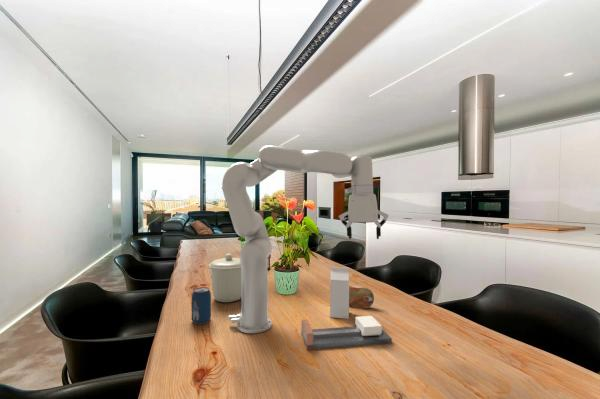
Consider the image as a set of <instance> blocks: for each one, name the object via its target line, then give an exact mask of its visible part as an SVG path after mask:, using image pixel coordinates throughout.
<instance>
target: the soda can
mask: <svg viewBox="0 0 600 399" xmlns="http://www.w3.org/2000/svg"><path fill="white" fill-rule="evenodd" d="M211 318H212V292H211V291H210V288H209V287H206V286H205V287H204V286H201V287H197V288H194V289H193V292H192V293H191V320H192V323H193V324H194V323H195V325H204V324H207V323H208V322H209V321H210V320H211Z"/></svg>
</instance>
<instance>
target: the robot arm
mask: <svg viewBox="0 0 600 399" xmlns="http://www.w3.org/2000/svg"><path fill="white" fill-rule="evenodd" d="M257 156H258V158H257V159H254V161H252V162H250V163H248V162H245V161H238V162H236V163H234V164H231V166H230V167H228V168H227V170H226V172H225V173H224V175H223V178H222V182H221V183H222V184H221V185H222V186H221V188H222V192H223V196H224V199H225V203H226V206H227V210H228V212H229V217H230V219H231V223H232V227H233V229H234V232H235V233H236V234H237V235H238V236H239V237H241V238H244V240H245V243H244V244H243V245H242V248H241V249H240V252H239V258H240V263H241V284H242V287H241V298H240V299H241V304H240V305H241V308H240V309H241V310H240V313H238V314H236V315H235V314H228V321H229V322H231V324H233V323H236V329H237V330H238V331H239V332H242V333H245V334H261V333H264V332H265V331H268V330H269V329H271V327H272V326H273V324H272V323H273V322H272V320H271V318H269V317H268V313H269V312H268V308H269V307H268V306H269V305H268V304H269V303H268V301H269V300H268V298H269V297H268V294H269V293H268V292H269V291H268V290H269V288H268V287H269V285H268V284H269V280H268V279H269V278H268V276H269V274H268V258H269V256H270V255H271V253H272V242H271V239H270V236H269V233H268V231H267V227H266V224H265V221H264V219H263V217H262V215H261V214H260V213H258V212H257V211H255V210H254V208H253V206H252V203H251V199H250V196H249V194H248V192H247V187H248V188H249V187H250V188H251V187H254V186H256V185H258V184H260V183H261V182H263V181H264V180H266V179H267V178H268V177H270V176H272V175H273V174H274V173H276V172H277V171H285V172H291V173H298V174H306V173H319V174H320V173H321V174H326V175H327V174H328V175H331V176H333V177H334V178H337V179H344V178H349V177H350V180H351V181H350V185H351V186H350V187H347V193H351V194H349V196H348V207H347V208H348V210H347V211H345V212H343V213H341V214H340V215H338V218H339V220H340V221H341V223H342V224H343V226H345V228H346V236H347V237H348V239H350V240H351V239H352V238H353V236H352V235H353V234H352V229H353V228H352V225H353V224H354V223H355V224H356V223H359V224H360V223H363V224H364V223H365V224H366V223H374V225H375V226H376V227H375V228H376V234H375V235H376V240H379V239H380V237H382V235H381V234H382V233H381V232H382V231H381V230H382V229H381V228H382V227H383V226H384V225H385V224H386V221H387V220H388V218H389V214H387V213H386V212H383V211H381V210H379V209H378V202H377V195H376V194H375V193H374V181H373V180H374V179H373V177H374V174H373V159H372V156H370V155H356V156H353V157H352V158H351V157H350V156H349V155H347V154H345V153H341V152H335V151H329V150H328V151H327V150H320V149H319V150H318V149H317V150H316V149H302V148H293V147H287V146H280V145H274V144H273V145H272V144H268V145H264V146H262V147H261V148H260V149H259V152H258V155H257ZM346 216H348V217H347V218H348V222H347V220H346V219H345V217H346ZM379 216H382V217H383V218H382V220H381V221H378V219H379Z"/></svg>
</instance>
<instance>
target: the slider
mask: <svg viewBox="0 0 600 399" xmlns="http://www.w3.org/2000/svg"><path fill="white" fill-rule="evenodd" d="M354 319H355V322H354V323H355V325H356V326H357V329H360V330H361V335H362V336H373V335H380V334H382V329H383V327H382V325H381V324H380V323H379V322H378V320H376V319H375V317H373V316H372V315H363V316H355V318H354Z"/></svg>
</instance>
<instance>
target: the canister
mask: <svg viewBox="0 0 600 399" xmlns="http://www.w3.org/2000/svg"><path fill="white" fill-rule="evenodd" d="M208 268H210V269H209V271H210V279H211V280H210V281H211V288H212V289H211V290H212V294H213V298H214V299H215V301H217V302H220V303H233V302H236V301H239V300H240V299H241V287H242V284H241V263H240V257H234V255H233V254H232V253H230V252H229V253H226V254H225V255H224V257H223V258H218V259H214V260H213V261H211V262H210V263H208Z"/></svg>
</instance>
